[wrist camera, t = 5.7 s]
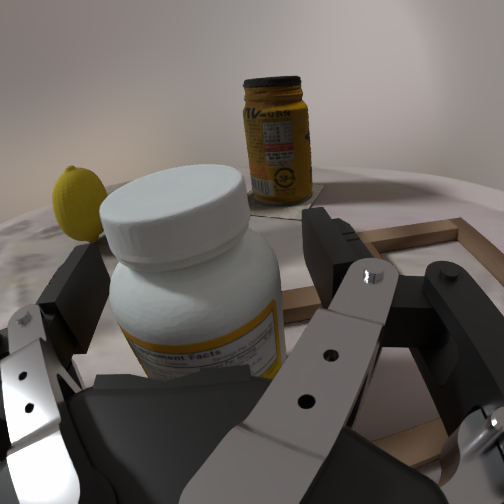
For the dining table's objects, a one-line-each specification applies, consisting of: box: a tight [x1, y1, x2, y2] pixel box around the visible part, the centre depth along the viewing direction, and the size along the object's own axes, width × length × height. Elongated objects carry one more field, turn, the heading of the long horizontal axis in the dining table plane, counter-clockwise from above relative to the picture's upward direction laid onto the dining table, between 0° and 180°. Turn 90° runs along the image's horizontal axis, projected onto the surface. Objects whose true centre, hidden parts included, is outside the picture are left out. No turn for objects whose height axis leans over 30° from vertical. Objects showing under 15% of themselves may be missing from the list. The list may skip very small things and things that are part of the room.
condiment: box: [243, 76, 324, 220], centre depth 28 cm, size 7×8×12 cm
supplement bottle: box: [99, 164, 286, 381], centre depth 10 cm, size 5×5×10 cm
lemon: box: [52, 166, 108, 243], centre depth 26 cm, size 6×6×8 cm
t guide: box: [281, 218, 504, 469], centre depth 13 cm, size 24×21×1 cm
